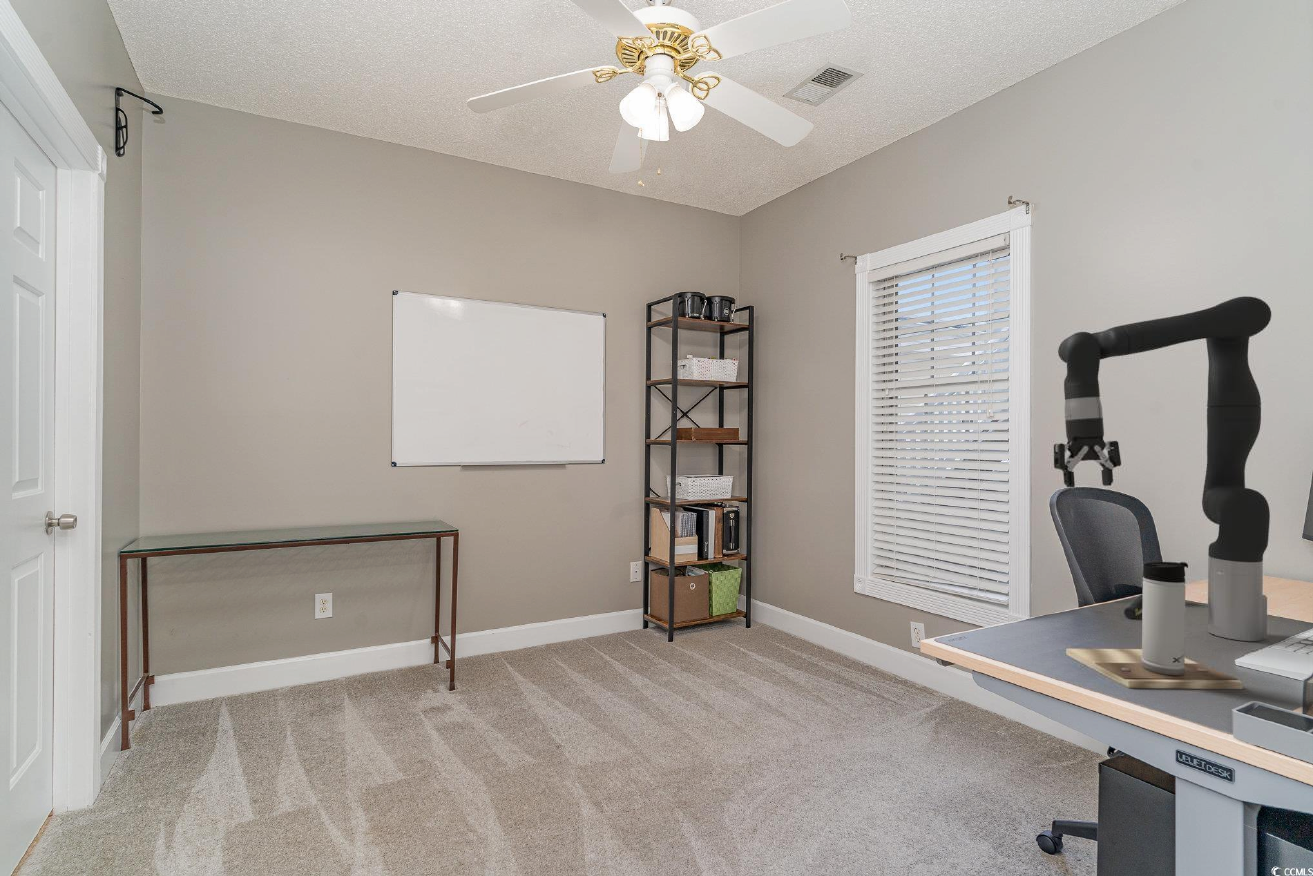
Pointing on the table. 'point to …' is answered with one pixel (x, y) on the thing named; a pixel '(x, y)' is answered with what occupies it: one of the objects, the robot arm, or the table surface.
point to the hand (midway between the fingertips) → (1088, 486)
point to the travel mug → (1164, 617)
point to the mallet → (1134, 607)
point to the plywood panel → (1132, 674)
